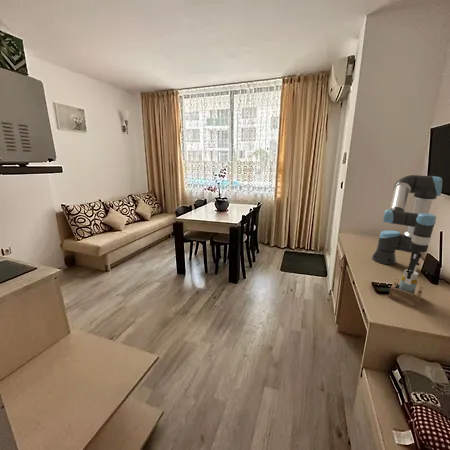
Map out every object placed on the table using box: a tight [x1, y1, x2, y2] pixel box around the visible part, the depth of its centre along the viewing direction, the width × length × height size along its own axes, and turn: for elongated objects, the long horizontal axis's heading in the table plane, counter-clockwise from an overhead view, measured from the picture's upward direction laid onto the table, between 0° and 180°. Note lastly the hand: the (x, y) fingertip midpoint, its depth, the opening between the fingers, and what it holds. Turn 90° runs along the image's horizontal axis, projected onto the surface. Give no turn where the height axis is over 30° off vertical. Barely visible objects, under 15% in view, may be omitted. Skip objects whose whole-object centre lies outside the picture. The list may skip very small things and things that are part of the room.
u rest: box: [388, 278, 424, 308], centre depth 135 cm, size 14×13×6 cm
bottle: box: [398, 268, 419, 294], centre depth 135 cm, size 7×7×15 cm
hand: (409, 279), depth 134 cm, fingers open, 13 cm apart
